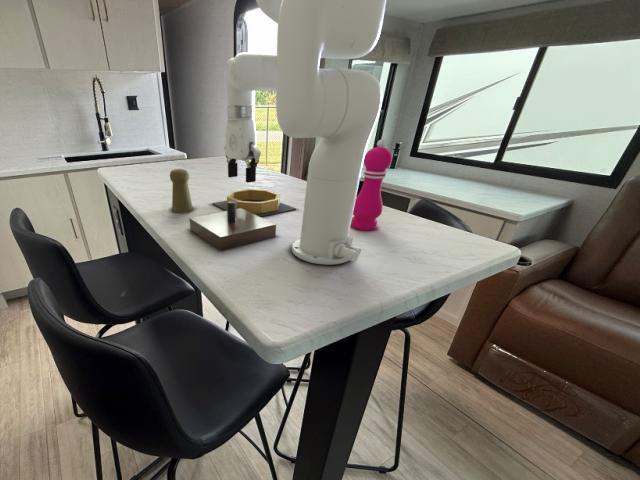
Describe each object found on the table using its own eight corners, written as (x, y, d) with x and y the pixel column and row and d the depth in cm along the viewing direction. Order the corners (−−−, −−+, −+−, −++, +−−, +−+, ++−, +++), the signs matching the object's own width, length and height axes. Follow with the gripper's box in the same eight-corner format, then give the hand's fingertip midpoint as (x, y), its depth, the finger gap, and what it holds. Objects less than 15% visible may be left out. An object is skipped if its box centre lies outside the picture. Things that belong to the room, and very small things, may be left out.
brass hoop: (289, 208, 94) (289, 197, 92) (247, 216, 87) (247, 205, 85) (258, 196, 104) (259, 187, 103) (219, 203, 97) (219, 193, 96)
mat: (296, 209, 94) (296, 208, 93) (245, 220, 85) (245, 219, 85) (259, 196, 106) (259, 195, 106) (212, 204, 98) (212, 203, 98)
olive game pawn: (195, 206, 95) (192, 167, 89) (190, 212, 90) (187, 171, 84) (175, 206, 96) (171, 167, 90) (169, 212, 91) (164, 171, 85)
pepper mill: (382, 226, 82) (404, 139, 71) (370, 233, 77) (392, 142, 67) (356, 219, 86) (373, 137, 75) (343, 226, 82) (359, 139, 71)
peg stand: (275, 236, 75) (277, 204, 71) (220, 250, 68) (219, 216, 64) (240, 219, 86) (240, 190, 82) (190, 229, 79) (187, 199, 75)
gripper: (213, 113, 92) (216, 176, 101) (247, 114, 80) (247, 185, 88) (235, 113, 96) (236, 173, 104) (271, 114, 83) (268, 182, 92)
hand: (241, 179), depth 96 cm, fingers open, 9 cm apart
